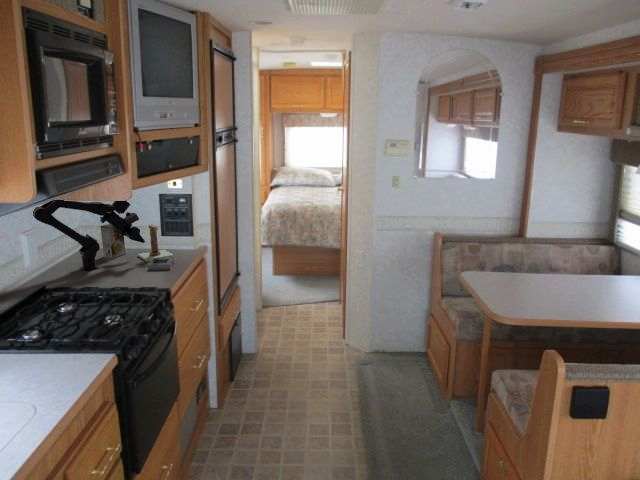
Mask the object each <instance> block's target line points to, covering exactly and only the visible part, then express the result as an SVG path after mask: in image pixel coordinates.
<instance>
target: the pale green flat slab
mask: <svg viewBox="0 0 640 480" xmlns="http://www.w3.org/2000/svg"><path fill="white" fill-rule="evenodd" d="M159 251H160V255H158V256H150V252H151V251H150V252H141V253H138V254H137V257H138V258H140V259H141V260H143V261H145V262H146V263H148V262H149V263H150V262H151V260H152V259H153V258H173V257H174V258H175V255H174V254H173V253H171V252H169V251H167V250H166V249H160V250H159Z"/></svg>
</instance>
